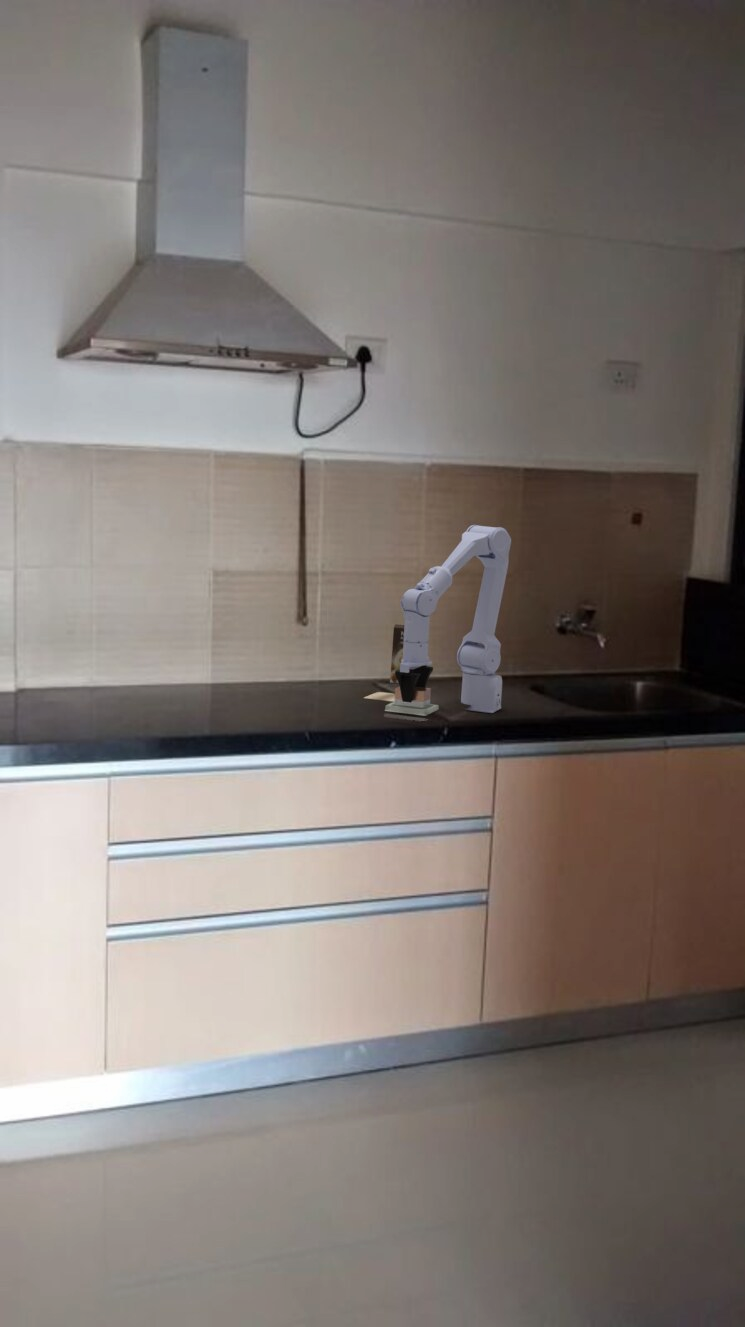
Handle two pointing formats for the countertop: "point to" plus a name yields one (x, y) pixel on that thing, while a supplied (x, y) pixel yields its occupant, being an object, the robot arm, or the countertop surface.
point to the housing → (414, 698)
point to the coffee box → (397, 651)
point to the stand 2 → (409, 712)
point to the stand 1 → (382, 696)
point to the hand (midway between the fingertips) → (412, 699)
